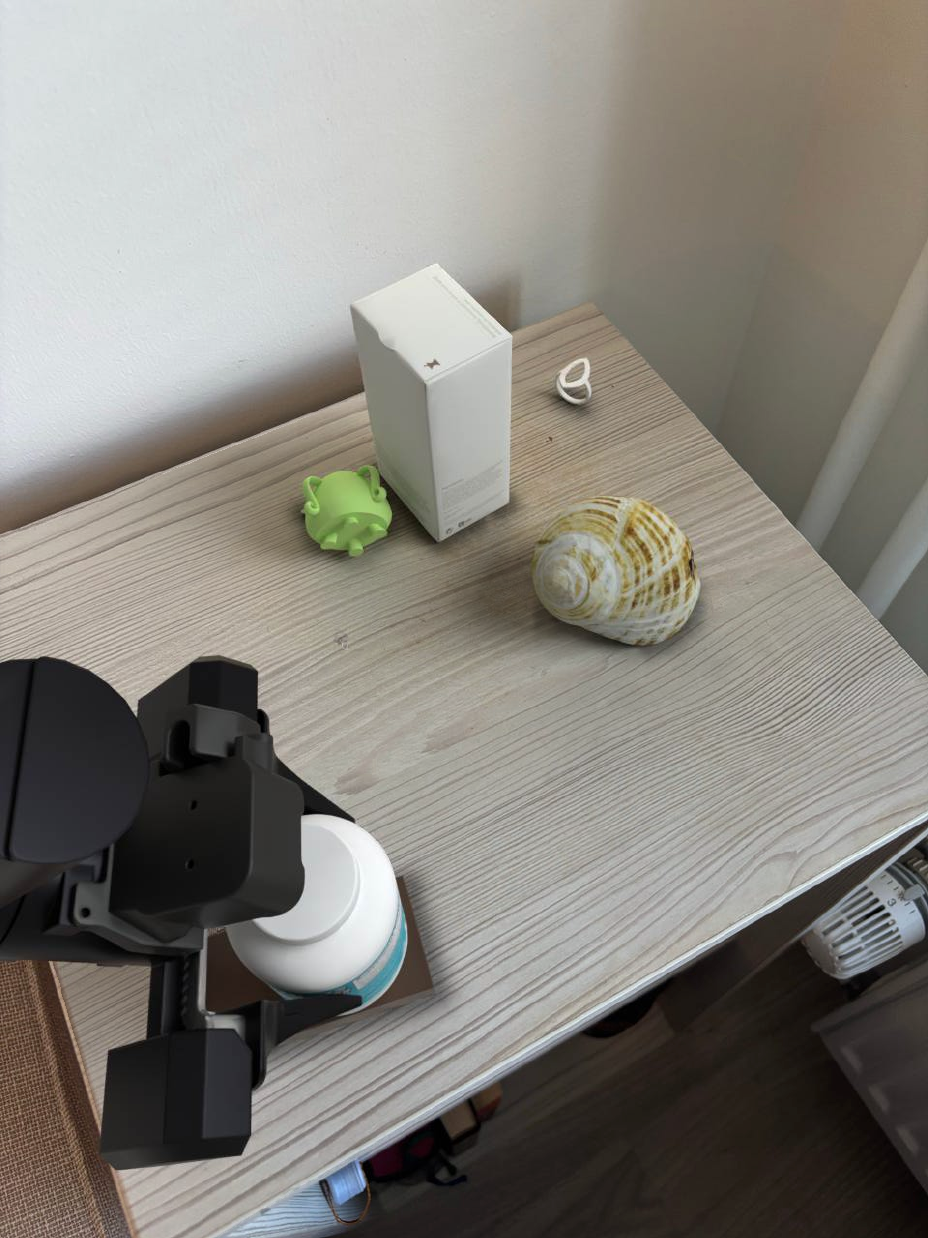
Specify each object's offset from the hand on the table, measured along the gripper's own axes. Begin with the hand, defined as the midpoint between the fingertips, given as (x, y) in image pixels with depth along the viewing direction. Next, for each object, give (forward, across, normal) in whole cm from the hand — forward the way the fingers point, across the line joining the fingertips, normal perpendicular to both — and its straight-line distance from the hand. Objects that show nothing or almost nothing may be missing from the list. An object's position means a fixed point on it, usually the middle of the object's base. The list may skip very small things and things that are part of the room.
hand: (353, 910), depth 42 cm
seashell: (+19, +21, -5) cm, 29 cm away
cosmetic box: (+12, +31, +2) cm, 33 cm away
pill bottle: (+4, 0, +6) cm, 8 cm away
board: (+5, -1, +9) cm, 10 cm away
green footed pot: (+7, +28, +7) cm, 30 cm away
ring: (+19, +39, -5) cm, 43 cm away
